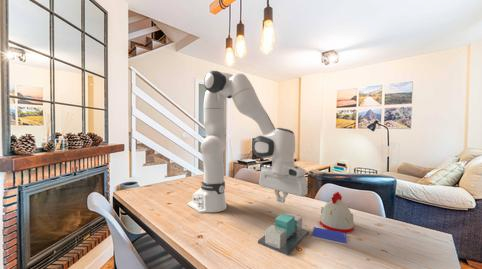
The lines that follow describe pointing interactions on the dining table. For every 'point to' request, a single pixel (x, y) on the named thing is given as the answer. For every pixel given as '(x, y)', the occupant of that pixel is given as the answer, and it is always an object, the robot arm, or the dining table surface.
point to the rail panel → (289, 242)
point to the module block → (286, 223)
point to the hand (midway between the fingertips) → (280, 201)
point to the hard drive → (330, 235)
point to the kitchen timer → (337, 216)
